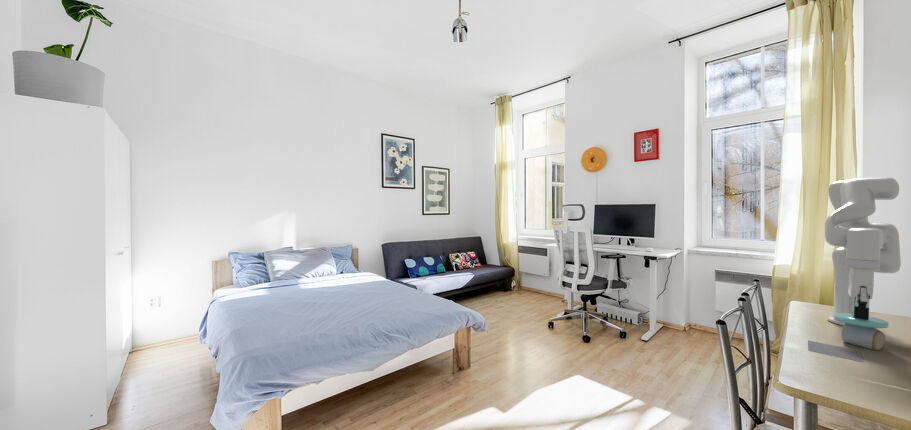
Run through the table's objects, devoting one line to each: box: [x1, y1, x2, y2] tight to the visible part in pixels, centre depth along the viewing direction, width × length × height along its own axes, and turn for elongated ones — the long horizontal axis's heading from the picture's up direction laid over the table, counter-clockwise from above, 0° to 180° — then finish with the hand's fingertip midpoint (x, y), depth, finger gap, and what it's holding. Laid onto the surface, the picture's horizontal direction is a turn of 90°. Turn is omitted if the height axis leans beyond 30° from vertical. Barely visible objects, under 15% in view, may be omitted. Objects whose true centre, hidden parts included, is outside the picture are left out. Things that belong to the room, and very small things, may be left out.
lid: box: [834, 303, 890, 329], centre depth 117 cm, size 12×12×6 cm
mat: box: [807, 340, 865, 363], centre depth 114 cm, size 12×12×1 cm
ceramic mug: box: [840, 323, 886, 351], centre depth 118 cm, size 11×8×8 cm
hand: (860, 316), depth 117 cm, fingers closed on lid, 3 cm apart
